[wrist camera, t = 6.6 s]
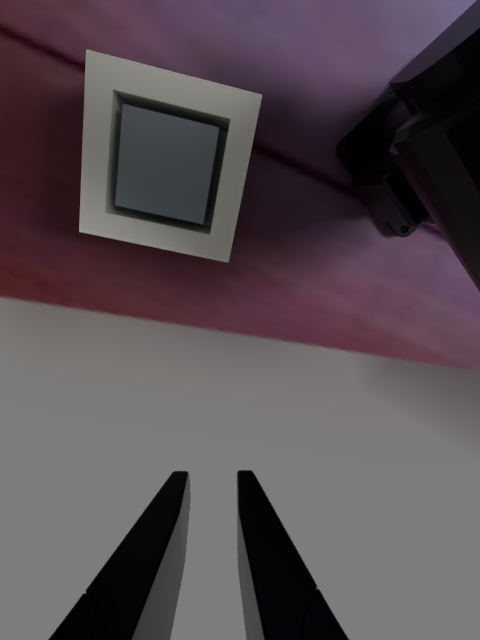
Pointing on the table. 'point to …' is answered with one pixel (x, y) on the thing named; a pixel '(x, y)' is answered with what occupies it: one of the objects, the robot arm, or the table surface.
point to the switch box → (176, 100)
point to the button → (166, 164)
